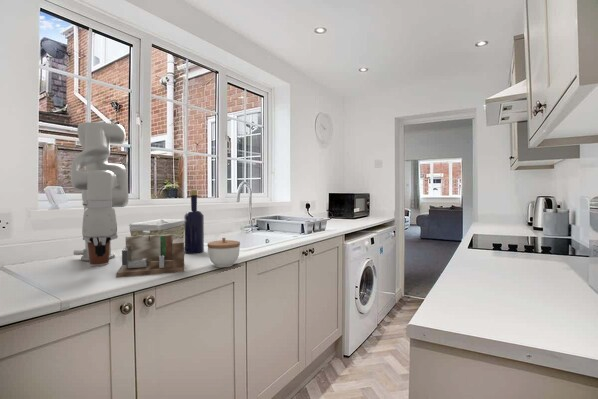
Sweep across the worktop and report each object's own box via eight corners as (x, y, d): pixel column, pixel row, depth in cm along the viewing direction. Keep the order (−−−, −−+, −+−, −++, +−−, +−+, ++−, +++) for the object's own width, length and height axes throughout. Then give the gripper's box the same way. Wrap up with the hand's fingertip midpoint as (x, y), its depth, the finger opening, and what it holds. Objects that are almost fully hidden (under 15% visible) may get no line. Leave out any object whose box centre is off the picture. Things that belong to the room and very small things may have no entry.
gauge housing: (116, 277, 109) (115, 242, 109) (123, 267, 123) (123, 236, 123) (184, 271, 117) (184, 239, 117) (183, 263, 131) (183, 234, 131)
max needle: (159, 267, 115) (159, 241, 115) (159, 267, 116) (159, 240, 116) (164, 267, 115) (163, 241, 115) (164, 266, 117) (164, 240, 116)
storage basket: (159, 256, 146) (158, 223, 145) (127, 254, 148) (127, 223, 148) (186, 246, 169) (186, 219, 169) (159, 245, 172) (158, 218, 172)
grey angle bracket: (121, 270, 111) (120, 251, 110) (126, 263, 121) (126, 246, 121) (145, 269, 113) (145, 250, 113) (148, 262, 124) (148, 245, 124)
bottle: (208, 251, 155) (207, 190, 154) (192, 254, 148) (192, 190, 147) (195, 249, 160) (195, 190, 159) (180, 252, 153) (179, 190, 152)
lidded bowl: (232, 269, 120) (232, 240, 120) (201, 268, 123) (201, 239, 122) (244, 262, 132) (244, 236, 132) (216, 261, 135) (216, 235, 135)
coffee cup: (117, 261, 133) (117, 233, 132) (101, 267, 124) (101, 236, 123) (97, 261, 134) (96, 232, 133) (80, 266, 125) (79, 236, 124)
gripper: (71, 205, 108) (72, 259, 108) (121, 205, 113) (122, 256, 114) (78, 204, 115) (79, 254, 115) (125, 204, 120) (125, 252, 121)
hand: (100, 255), depth 115 cm, fingers closed
